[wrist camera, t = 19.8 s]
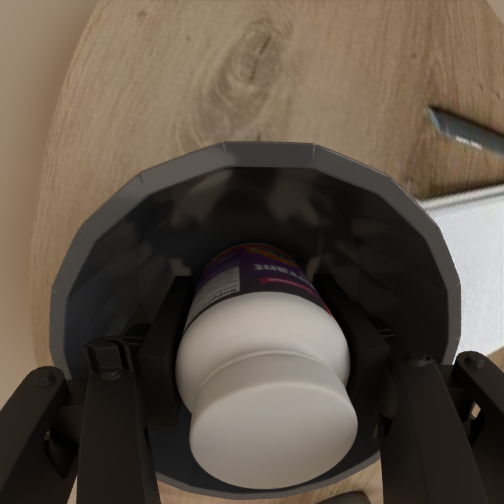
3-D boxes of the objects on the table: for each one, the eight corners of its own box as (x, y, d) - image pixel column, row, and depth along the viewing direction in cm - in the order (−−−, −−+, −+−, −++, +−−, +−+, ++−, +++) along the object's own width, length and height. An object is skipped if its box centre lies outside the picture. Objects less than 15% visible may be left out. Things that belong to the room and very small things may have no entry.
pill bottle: (327, 290, 16) (421, 422, 6) (253, 358, 17) (271, 516, 7) (250, 215, 15) (280, 300, 5) (175, 295, 15) (115, 443, 6)
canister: (123, 161, 15) (19, 161, 7) (372, 162, 16) (487, 166, 7) (146, 378, 19) (109, 488, 10) (350, 373, 19) (403, 475, 11)
